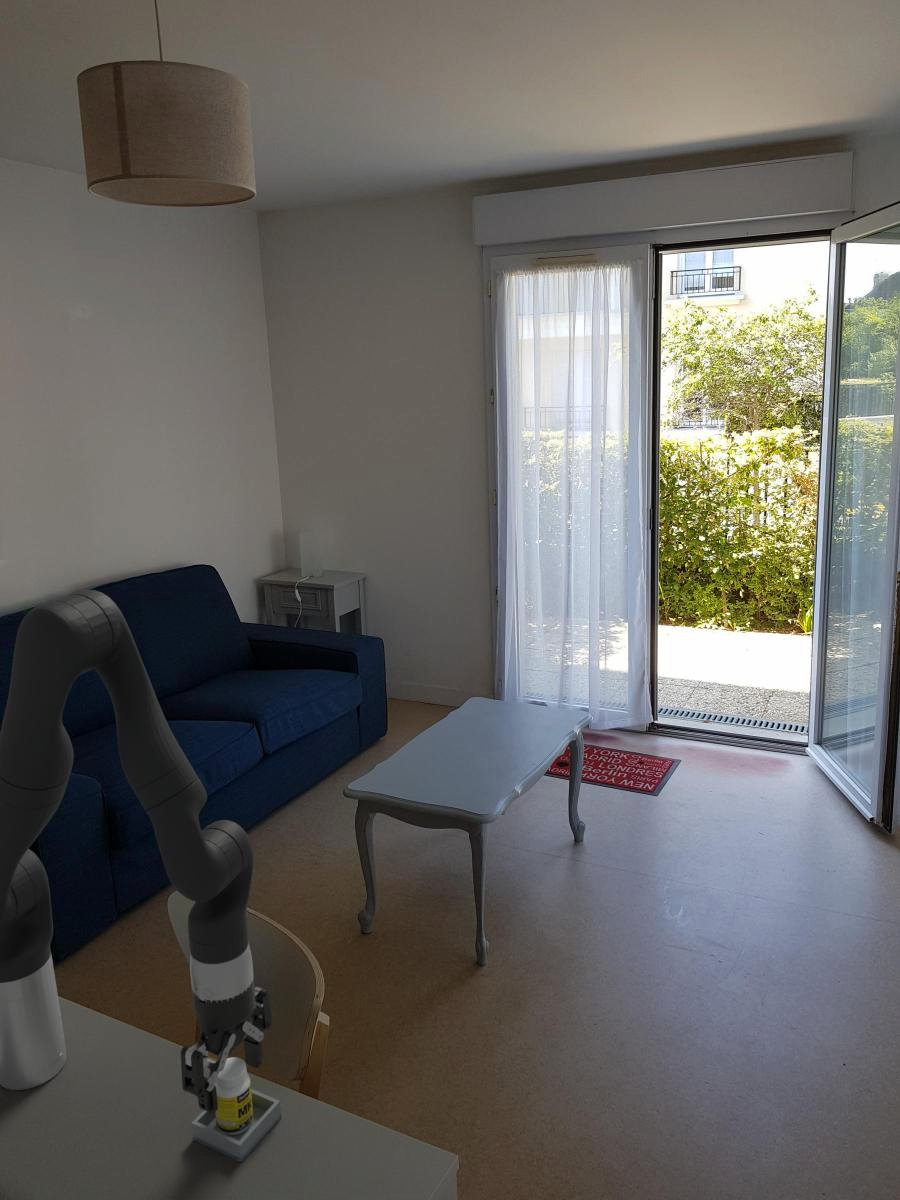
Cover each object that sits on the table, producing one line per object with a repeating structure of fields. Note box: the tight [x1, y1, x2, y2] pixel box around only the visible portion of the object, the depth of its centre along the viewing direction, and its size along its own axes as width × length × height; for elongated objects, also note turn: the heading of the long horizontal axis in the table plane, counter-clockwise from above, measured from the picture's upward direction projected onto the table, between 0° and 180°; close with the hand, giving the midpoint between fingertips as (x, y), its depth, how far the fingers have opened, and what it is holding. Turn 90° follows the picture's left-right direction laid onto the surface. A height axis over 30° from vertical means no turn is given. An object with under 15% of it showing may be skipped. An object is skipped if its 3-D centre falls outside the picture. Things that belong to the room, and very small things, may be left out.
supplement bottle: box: [215, 1057, 253, 1135], centre depth 120 cm, size 5×5×8 cm
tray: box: [190, 1088, 282, 1163], centre depth 121 cm, size 8×8×3 cm
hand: (232, 1086), depth 120 cm, fingers open, 8 cm apart
